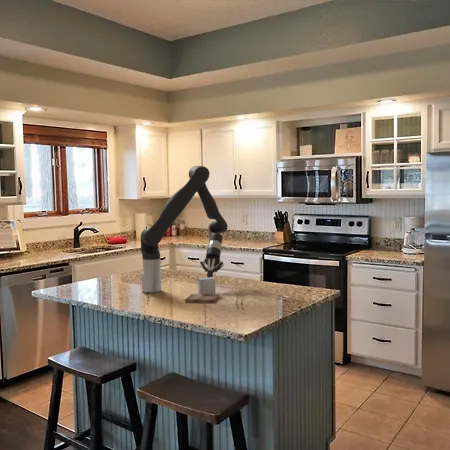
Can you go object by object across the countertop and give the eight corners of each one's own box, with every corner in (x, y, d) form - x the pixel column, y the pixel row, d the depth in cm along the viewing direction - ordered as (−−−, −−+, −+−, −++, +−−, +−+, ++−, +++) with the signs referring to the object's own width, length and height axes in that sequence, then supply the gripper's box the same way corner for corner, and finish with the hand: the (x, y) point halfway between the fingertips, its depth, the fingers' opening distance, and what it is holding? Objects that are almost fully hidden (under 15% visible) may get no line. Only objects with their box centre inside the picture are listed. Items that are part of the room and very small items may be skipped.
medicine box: (213, 293, 250) (212, 277, 249) (215, 295, 246) (215, 278, 245) (198, 295, 248) (197, 278, 247) (200, 297, 243) (200, 279, 243)
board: (185, 302, 233) (185, 299, 233) (191, 297, 244) (191, 294, 244) (214, 303, 231) (214, 299, 231) (219, 297, 241) (218, 294, 241)
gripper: (200, 246, 262) (195, 273, 251) (225, 246, 260) (221, 273, 249) (203, 254, 268) (198, 281, 257) (227, 255, 265) (223, 282, 254)
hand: (209, 277), depth 253 cm, fingers closed
